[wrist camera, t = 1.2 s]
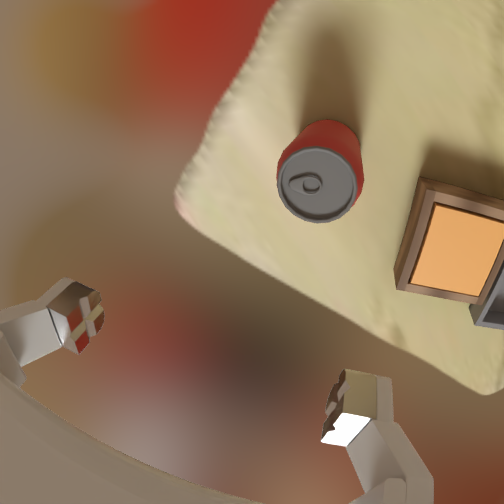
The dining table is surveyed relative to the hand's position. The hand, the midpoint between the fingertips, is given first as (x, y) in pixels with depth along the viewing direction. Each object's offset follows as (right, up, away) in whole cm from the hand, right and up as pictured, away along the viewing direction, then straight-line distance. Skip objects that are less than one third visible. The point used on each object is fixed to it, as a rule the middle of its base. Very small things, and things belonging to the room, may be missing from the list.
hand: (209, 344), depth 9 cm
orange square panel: (+23, +3, +19) cm, 30 cm away
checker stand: (+24, +5, +21) cm, 32 cm away
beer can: (+9, +13, +21) cm, 27 cm away
